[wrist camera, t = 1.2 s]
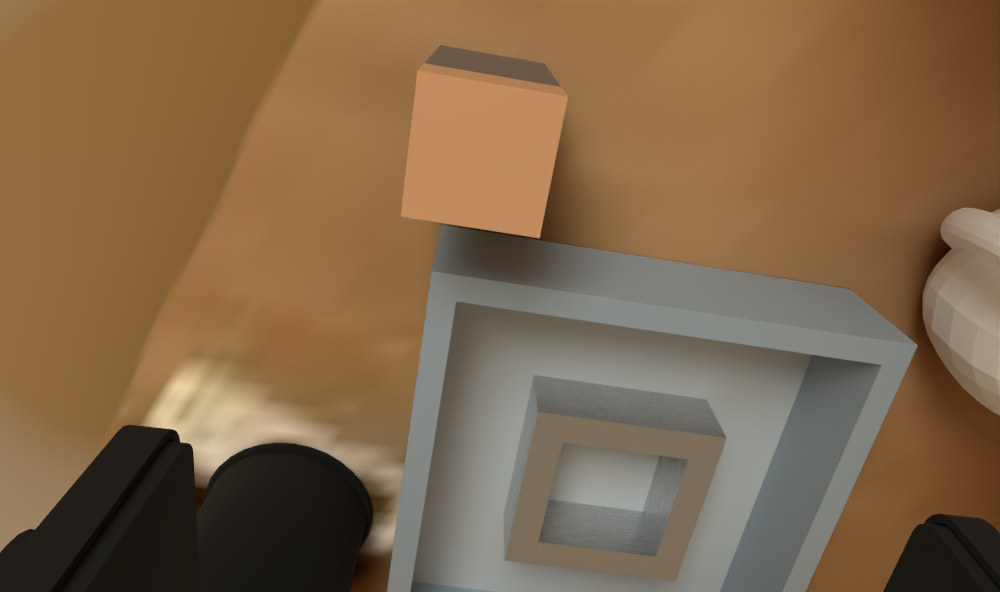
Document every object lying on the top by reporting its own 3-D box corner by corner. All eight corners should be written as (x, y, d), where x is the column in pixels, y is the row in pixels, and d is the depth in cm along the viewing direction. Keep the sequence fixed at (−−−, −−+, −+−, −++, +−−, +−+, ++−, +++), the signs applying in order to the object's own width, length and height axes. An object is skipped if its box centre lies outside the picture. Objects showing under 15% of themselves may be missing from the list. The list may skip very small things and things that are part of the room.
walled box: (441, 224, 29) (431, 271, 24) (850, 289, 31) (917, 345, 26) (390, 581, 37) (375, 670, 32) (718, 620, 38) (750, 711, 34)
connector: (440, 45, 26) (417, 70, 18) (544, 63, 27) (568, 96, 19) (427, 149, 28) (400, 216, 20) (525, 166, 28) (539, 238, 20)
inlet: (533, 374, 31) (537, 412, 29) (706, 399, 32) (726, 438, 29) (503, 515, 34) (504, 560, 32) (661, 535, 35) (675, 581, 32)
